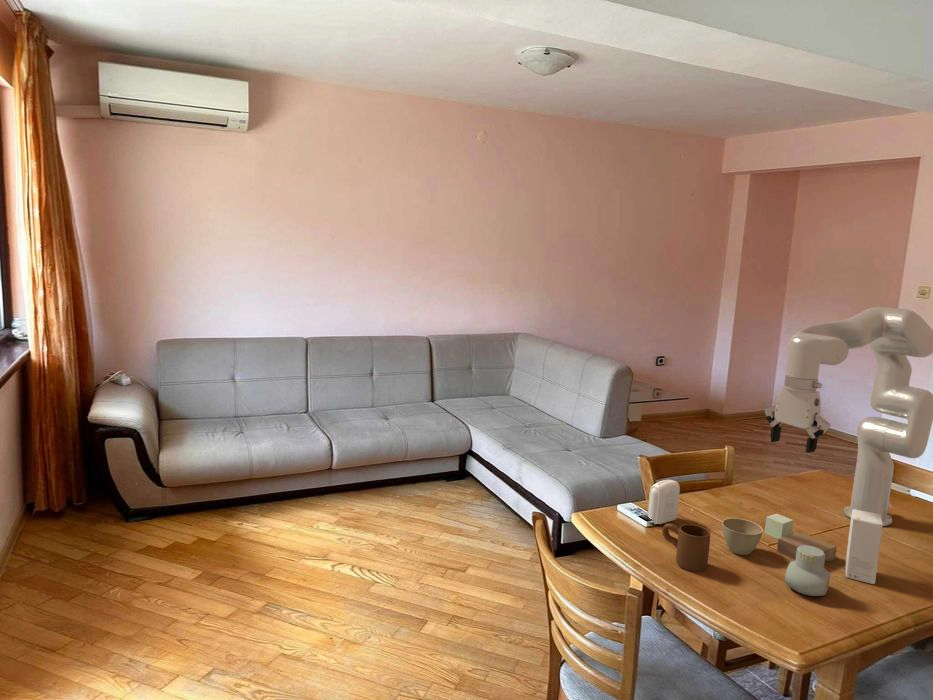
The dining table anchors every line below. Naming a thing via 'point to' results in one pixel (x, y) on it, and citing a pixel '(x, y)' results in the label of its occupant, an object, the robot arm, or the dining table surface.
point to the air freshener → (808, 572)
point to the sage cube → (778, 526)
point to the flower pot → (741, 535)
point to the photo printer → (663, 501)
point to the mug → (690, 545)
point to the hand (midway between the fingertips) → (792, 446)
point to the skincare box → (863, 546)
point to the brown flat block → (797, 539)
